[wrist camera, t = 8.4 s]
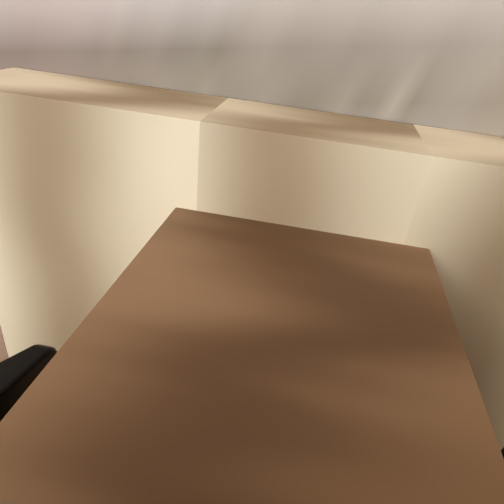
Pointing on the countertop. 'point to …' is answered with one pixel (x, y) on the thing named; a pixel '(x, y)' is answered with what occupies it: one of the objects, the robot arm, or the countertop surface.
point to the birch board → (232, 196)
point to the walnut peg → (258, 380)
